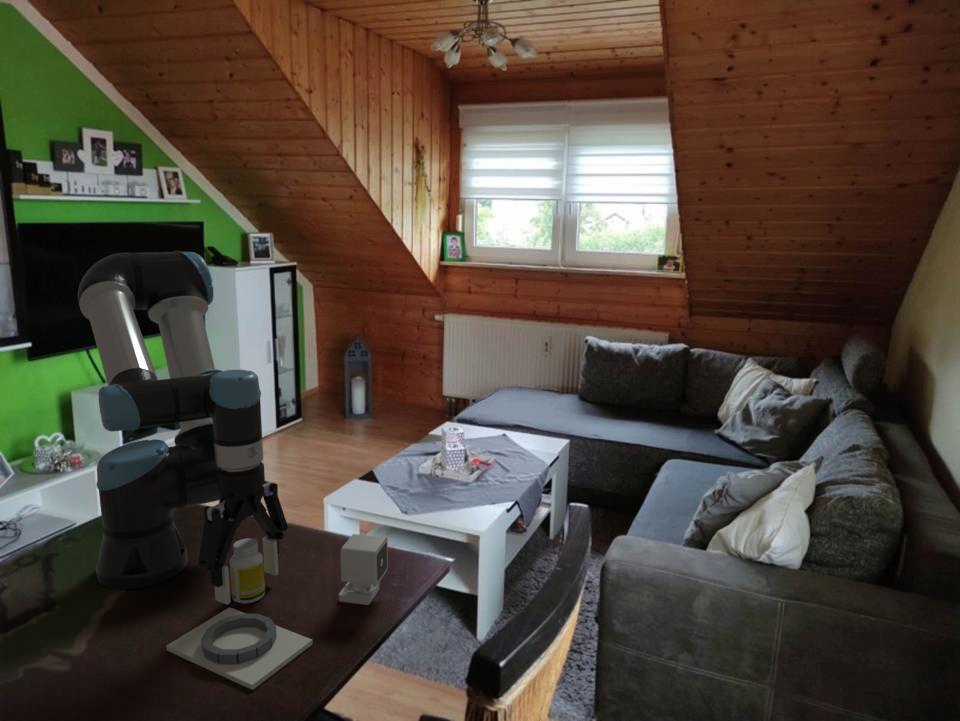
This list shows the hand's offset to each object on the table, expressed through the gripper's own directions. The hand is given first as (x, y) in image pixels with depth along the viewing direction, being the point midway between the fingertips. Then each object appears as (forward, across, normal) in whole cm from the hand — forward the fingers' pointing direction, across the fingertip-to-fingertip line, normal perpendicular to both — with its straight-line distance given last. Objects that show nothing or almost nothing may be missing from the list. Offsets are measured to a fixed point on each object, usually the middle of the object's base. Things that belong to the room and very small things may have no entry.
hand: (248, 586), depth 119 cm
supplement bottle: (+2, 0, 0) cm, 2 cm away
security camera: (+2, +10, -17) cm, 20 cm away
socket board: (+2, -11, -10) cm, 15 cm away
